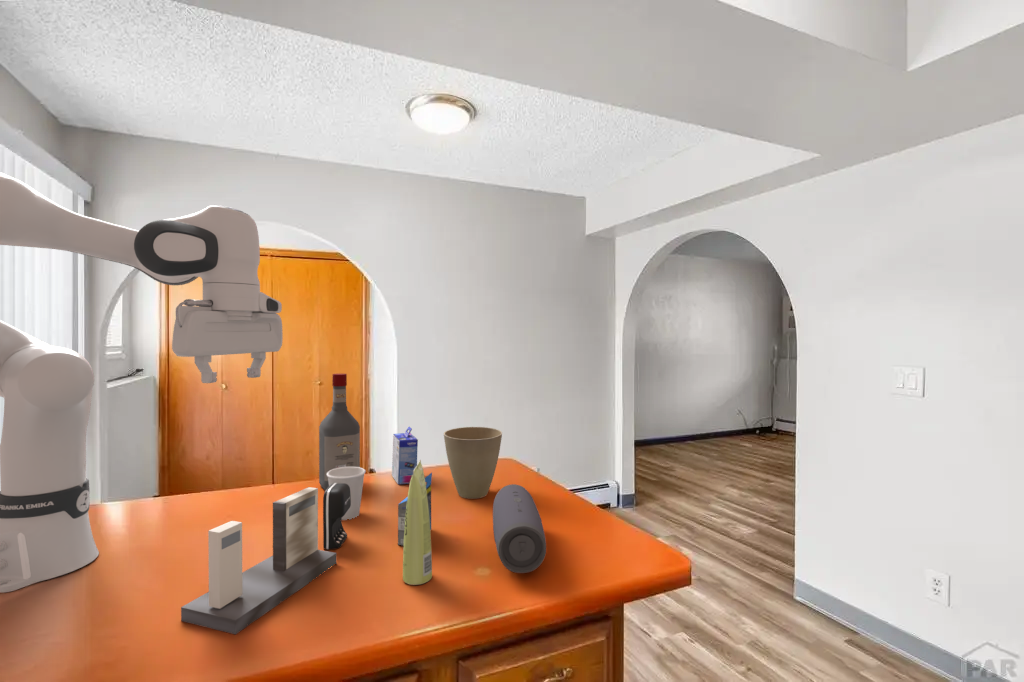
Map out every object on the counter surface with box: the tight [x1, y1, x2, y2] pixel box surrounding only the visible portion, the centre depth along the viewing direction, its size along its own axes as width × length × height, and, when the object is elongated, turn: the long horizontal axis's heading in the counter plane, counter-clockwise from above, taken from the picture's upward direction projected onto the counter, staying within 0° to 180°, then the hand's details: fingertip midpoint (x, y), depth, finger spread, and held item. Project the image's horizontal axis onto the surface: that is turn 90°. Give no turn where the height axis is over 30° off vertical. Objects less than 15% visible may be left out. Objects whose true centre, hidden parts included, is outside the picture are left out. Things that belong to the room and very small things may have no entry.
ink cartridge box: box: [391, 426, 419, 485], centre depth 141 cm, size 10×6×14 cm, turn 24°
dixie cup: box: [327, 467, 366, 521], centre depth 114 cm, size 8×8×10 cm
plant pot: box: [443, 426, 503, 500], centre depth 129 cm, size 15×15×16 cm
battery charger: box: [322, 483, 351, 551], centre depth 99 cm, size 7×4×11 cm, turn 3°
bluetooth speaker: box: [492, 483, 547, 574], centre depth 97 cm, size 23×9×10 cm, turn 4°
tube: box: [402, 459, 433, 586], centre depth 86 cm, size 6×5×20 cm
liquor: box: [318, 373, 361, 492], centre depth 134 cm, size 9×9×30 cm
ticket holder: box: [180, 486, 337, 635], centre depth 82 cm, size 22×10×13 cm, turn 162°
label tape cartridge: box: [397, 472, 433, 547], centre depth 102 cm, size 9×4×12 cm, turn 168°
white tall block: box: [207, 520, 243, 609], centre depth 74 cm, size 4×2×11 cm, turn 162°
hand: (232, 380), depth 89 cm, fingers open, 8 cm apart
